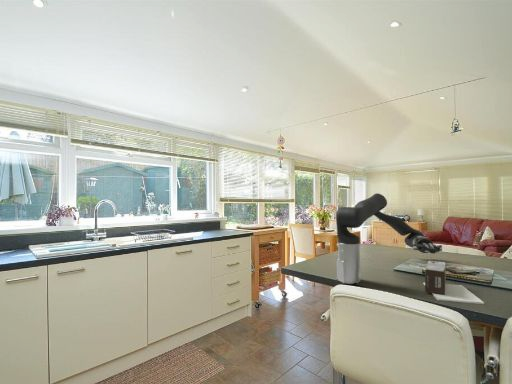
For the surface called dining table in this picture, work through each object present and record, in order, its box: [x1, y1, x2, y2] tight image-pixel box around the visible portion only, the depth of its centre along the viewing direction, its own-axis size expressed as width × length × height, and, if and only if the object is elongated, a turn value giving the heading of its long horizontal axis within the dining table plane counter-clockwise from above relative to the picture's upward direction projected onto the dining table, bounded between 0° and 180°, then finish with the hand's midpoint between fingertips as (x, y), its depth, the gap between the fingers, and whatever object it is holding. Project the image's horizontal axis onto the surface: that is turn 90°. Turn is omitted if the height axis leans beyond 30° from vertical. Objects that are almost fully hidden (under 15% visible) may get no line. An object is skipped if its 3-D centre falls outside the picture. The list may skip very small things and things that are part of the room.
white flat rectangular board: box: [422, 281, 485, 305], centre depth 103 cm, size 18×14×1 cm
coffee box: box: [424, 260, 447, 295], centre depth 107 cm, size 9×6×16 cm
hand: (433, 251), depth 122 cm, fingers closed
